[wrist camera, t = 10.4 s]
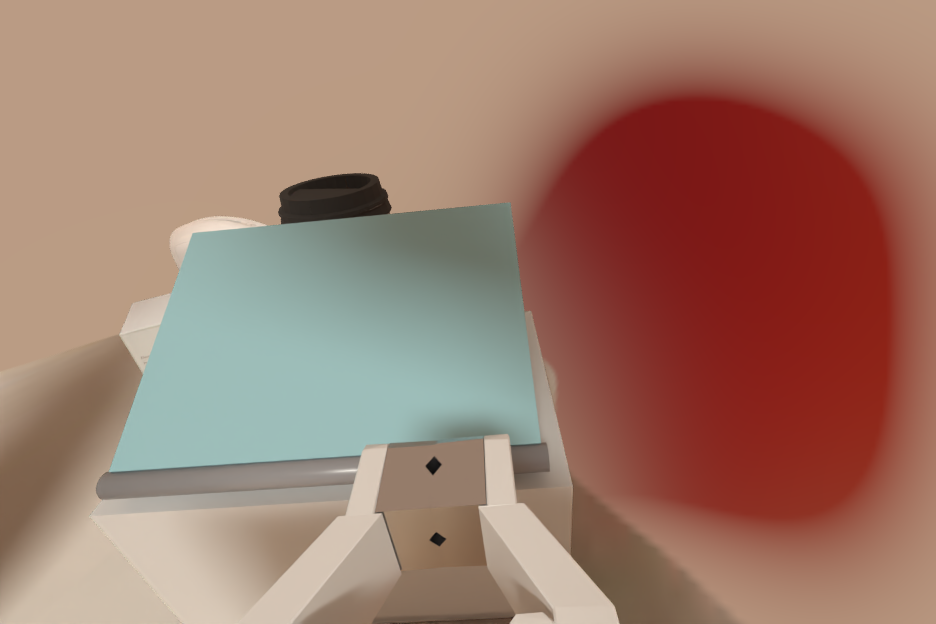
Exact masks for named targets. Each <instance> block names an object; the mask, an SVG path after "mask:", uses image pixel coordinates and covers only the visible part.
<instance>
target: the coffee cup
mask: <svg viewBox="0 0 936 624" xmlns="http://www.w3.org/2000/svg"><path fill="white" fill-rule="evenodd" d="M387 198H388V194H387V192H386V190H384V189H382V188H381V185H380V181H379V179H378V177H377V176H375V175H371V174H361V173H354V174H342V175H334V176H327V177H321V178H317V179H312V180H308V181H305V182H301V183H298V184H296V185H293V186H291V187H288V188H286V189H285V190H283V191H282V192H281V193H280V201H281V207H280V208H279V211H278V213H279V216H280V217H281V224H291V223H302V222H312V221H322V220H333V219H343V218H354V217H364V216H375V215H385V214H390V210H391V205H390V203H389V201H388V199H387Z"/></svg>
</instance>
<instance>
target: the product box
mask: <svg viewBox="0 0 936 624" xmlns="http://www.w3.org/2000/svg"><path fill="white" fill-rule="evenodd" d="M170 296H171V293H169V294H166V295H162V296H158V297H154V298H150V299H146V300H142V301H138V302H135V303H133V304H132V305H131V308H130V310H129V313H128V315H127V318H126V320H125V322H124V325H123V327H122V330H121V332H120V334H119V336H120V338H121V339H122V341H123V342H124V344H125V346H126V347H127V349H128V351H129V352H130V354H131V356H132V357H133V359H134V360H135V362H136V364H137V365H138V367H139V369H140V371H141V372H142V374H143V373H144V370H145V367H146V364H147V362H148V359H149V356H150V353H151V350H152V347H153V345H154V342H155V339H156V336H157V333H158V330H159V327H160V325H161V322H162V319H163V316H164V313H165V310H166V307H167V305H168V302H169V299H170Z"/></svg>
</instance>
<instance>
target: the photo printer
mask: <svg viewBox="0 0 936 624" xmlns="http://www.w3.org/2000/svg"><path fill="white" fill-rule="evenodd" d="M260 226H268V225H266V224H263V223H260V222H257V221H254V220H249V219H244V218H237V217H229V216H228V217H227V216H215V217H207V218H202V219H198V220H195V221H193V222H190V223H188V224H186V225H183V226H181V227H179V228H177V229H175V230H174V231H173V232H172V234H171V237H170V251H171V253H172V256H173V258H174V260H175V262H176V265H177V267H178V269H179V270H180V268H181V265H182V262H183V259H184V256H185V253H186V250H187V248H188V245H189V242H190V239H191V236H192V233H197V232H208V231H218V230H229V229H239V228H249V227H260Z"/></svg>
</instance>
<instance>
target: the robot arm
mask: <svg viewBox="0 0 936 624" xmlns="http://www.w3.org/2000/svg"><path fill="white" fill-rule="evenodd" d="M462 566H487V568H488V570H489V571H490V573H491V575H492V576H493V578H494V580H495V581H496V583H497V585H498V586H499V588H500V589H501V591H502V593H503V594H504V596H505V598H506V599H507V601H508V603H509V604H510V606H511V608H512V609H513V611H514V613H515V614H516V615H515V616H514V618H513V619H512V621H511V622H510V623H509V624H619V620H618V616H617V613H616V609H615V606H614V605H613V604H612V602H611V601H610V600H609V599H608V598H607V597H606V596H605V594H604V593H603V592H602V591H601V590H600V589H599V588H598V586H597V585H596V584H595V583H594V582H593V581H592V580H591V578H590V577H589V576H588V575H587V574H586V573H585V571H584V570H583V569H582V568H581V567H580V566H579V565H578V563H577V562H576V561H575V560H574V559H573V558H572V557H571V555H570V554H569V553H568V552H567V551H566V550H565V549H564V547H563V546H562V545H561V544H560V543H559V542H558V541H557V539H556V538H555V537H554V536H553V535H552V534H551V532H550V531H549V530H548V529H547V528H546V527H545V526H544V524H543V523H542V522H541V521H540V520H539V519H538V518H537V516H536V515H535V514H534V513H533V512H532V511H531V510H530V508H529V507H528V506H527V505H526V504H525V503H517V498H516V490H515V481H514V472H513V464H512V455H511V446H510V438H509V435H508V434H499V435H487V436H475V437H464V438H453V439H442V440H437V441H418V442H400V443H389V444H371V445H366V446H365V448H364V449H363V451H362V454H361V457H360V461H359V465H358V469H357V473H356V476H355V480H354V484H353V488H352V492H351V495H350V499H349V503H348V507H347V511H346V514H345V516H338V517H337V518H336V519H335V520H334V521H333V522H332V523H331V524H330V525H329V526H328V527H327V528H326V529H325V530H324V531H323V533H322V534H321V535H320V536H319V537H318V538H317V539H316V540H315V541H314V542H313V543H312V544H311V545H310V546H309V547H308V549H307V550H306V551H305V552H304V553H303V554H302V555H301V556H300V557H299V558H298V559H297V560H296V561H295V562H294V563H293V565H292V566H291V567H290V568H289V569H288V570H287V571H286V572H285V573H284V574H283V575H282V576H281V577H280V578H279V579H278V581H277V582H276V583H275V584H274V585H273V586H272V587H271V588H270V589H269V590H268V591H267V592H266V593H265V594H264V595H263V597H262V598H261V599H260V600H259V601H258V602H257V603H256V604H255V605H254V606H253V607H252V608H251V609H250V610H249V611H248V613H247V614H246V615H245V616H244V617H243V618H242V619H241V620H240V621H239V622H238V623H237V624H371V623H372V622H373V620H374V618H375V617H376V615H377V613H378V612H379V610H380V609H381V607H382V605H383V604H384V602H385V600H386V599H387V597H388V596H389V594H390V592H391V591H392V589H393V587H394V586H395V584H396V583H397V581H398V579H399V578H400V576H401V571H409V570H419V569H430V568H440V567H462Z"/></svg>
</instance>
